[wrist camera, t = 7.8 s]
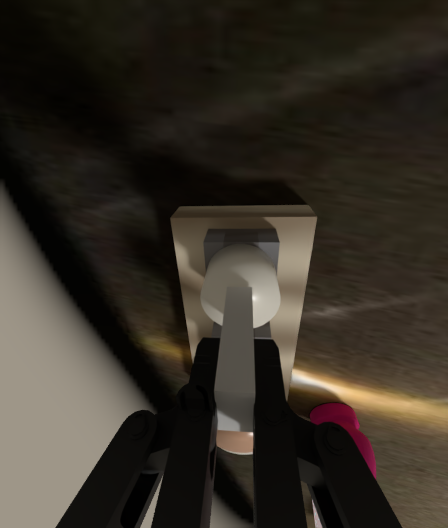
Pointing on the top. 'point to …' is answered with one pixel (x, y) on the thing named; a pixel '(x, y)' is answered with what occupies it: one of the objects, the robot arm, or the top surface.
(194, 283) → the knob board
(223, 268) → the knob
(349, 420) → the pepper mill
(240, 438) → the middle pink knob
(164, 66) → the top surface
